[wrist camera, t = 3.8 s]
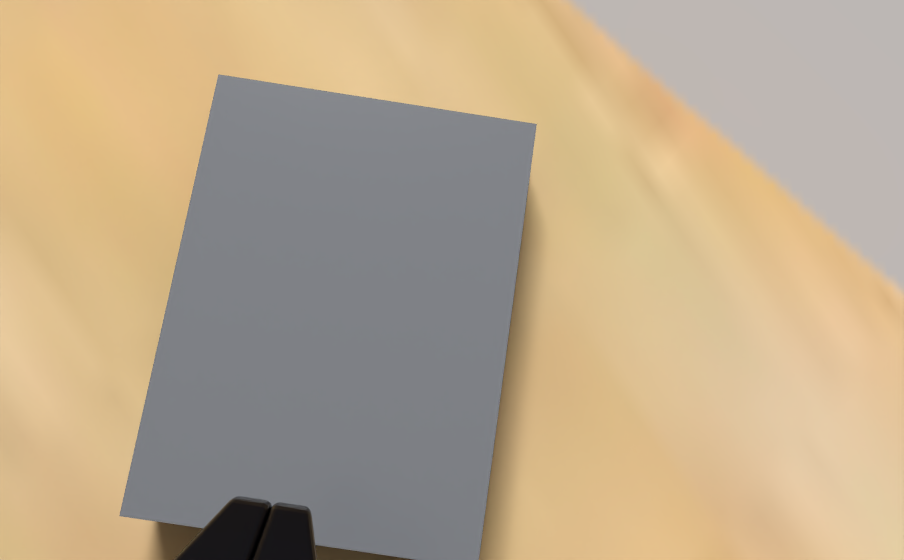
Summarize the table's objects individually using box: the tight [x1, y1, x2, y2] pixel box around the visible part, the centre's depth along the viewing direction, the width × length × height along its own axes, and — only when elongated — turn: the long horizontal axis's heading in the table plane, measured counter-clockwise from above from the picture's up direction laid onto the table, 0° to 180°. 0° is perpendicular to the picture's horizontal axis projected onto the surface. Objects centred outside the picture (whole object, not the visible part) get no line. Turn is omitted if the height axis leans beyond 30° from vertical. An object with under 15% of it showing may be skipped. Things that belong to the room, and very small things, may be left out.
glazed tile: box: [120, 75, 537, 560], centre depth 16 cm, size 2×6×8 cm
